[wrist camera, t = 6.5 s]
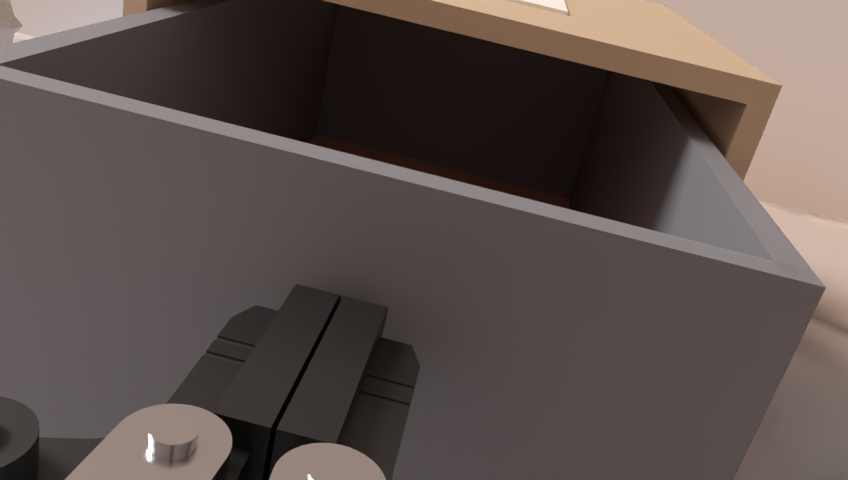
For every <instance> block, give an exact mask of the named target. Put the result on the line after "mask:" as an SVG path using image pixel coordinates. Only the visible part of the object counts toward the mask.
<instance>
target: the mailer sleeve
mask: <svg viewBox="0 0 848 480" xmlns="http://www.w3.org/2000/svg"><path fill="white" fill-rule="evenodd" d="M187 1H191V0H124V5H123V17H125V16H129V15H133V14H137V13H141V12H146V11H150V10H154V9H158V8H162V7H166V6H170V5H175V4H179V3H183V2H187ZM323 1H327V2H332V3H336V4H340V5H344V6H348V7H352V8H356V9H360V10H364V11H368V12H372V13H376V14H380V15H385V16H389V17H393V18H397V19H401V20H405V21H409V22H413V23H417V24H421V25H425V26H429V27H434V28H438V29H442V30H446V31H450V32H454V33H458V34H462V35H466V36H470V37H474V38H478V39H483V40H487V41H491V42H495V43H499V44H503V45H507V46H511V47H515V48H519V49H523V50H527V51H532V52H536V53H540V54H544V55H548V56H552V57H556V58H560V59H564V60H568V61H572V62H576V63H581V64H585V65H589V66H593V67H597V68H601V69H605V70H609V71H613V72H617V73H621V74H625V75H630V76H634V77H638V78H642V79H646V80H650V81H654V82H658V83H662V84H666V85H668V86H669V87H670V89H671V90H672V91H673V92H674V94H675V95H676V96H677V98H678V99H679V100H680V101H681V103H682V104H683V105H684V107H685V108H686V109H687V110H688V112H689V113H690V114H691V115H692V117H693V118H694V119H695V121H696V122H697V123H698V124H699V126H700V127H701V128H702V130H703V131H704V132H705V133H706V135H707V136H708V137H709V139H710V140H711V141H712V142H713V144H714V145H715V146H716V148H717V149H718V150H719V151H720V153H721V154H722V155H723V156H724V158H725V159H726V160H727V162H728V163H729V164H730V165H731V167H732V168H733V169H734V171H735V172H736V173H737V174H738V176H739V177H740V178H741V180H742V181H743V180H744V178H745V175H746V173H747V171H748V168H749V166H750V163H751V161H752V158H753V155H754V153H755V151H756V148H757V146H758V144H759V141H760V139H761V136H762V134H763V131H764V129H765V126H766V124H767V121H768V119H769V117H770V114H771V112H772V109H773V107H774V104H775V102H776V99H777V97H778V94H779V92H780V90H781V87H782V85H780V84H779V83H777V82H776V81H774V80H773V79H771V78H770V77H768V76H767V75H766V74H764V73H763V72H761V71H760V70H758V69H757V68H756V67H754V66H753V65H751V64H750V63H748V62H747V61H745V60H744V59H742V58H741V57H739V56H738V55H737V54H735V53H734V52H732V51H731V50H729V49H728V48H726V47H725V46H723V45H722V44H721V43H719V42H718V41H716V40H715V39H713V38H712V37H710V36H709V35H707V34H706V33H705V32H703V31H701V30H700V29H699V28H697V27H696V26H694V25H693V24H691V23H690V22H688V21H687V20H686V19H684V18H683V17H681V16H680V15H678V14H677V13H675V12H674V11H672V10H671V9H669V8H668V7H667V6H665V5H661V4H656V3H652V2H648V1H644V0H323Z"/></svg>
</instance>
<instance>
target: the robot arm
mask: <svg viewBox="0 0 848 480" xmlns="http://www.w3.org/2000/svg"><path fill="white" fill-rule="evenodd" d="M387 312H388V307H386V306H382V305H378V304H374V303H371V302H367V301H363V300H359V299H355V298H351V297H347V296H344V297H343V298H342V300H341V295H339V294H335V293H331V292H327V291H323V290H319V289H316V288H312V287H308V286H304V285H300V284H296V285H295V286H294V287H293V289H292V291H291V292H290V294H289V295H288V297H287V298H286V300H285V301H284V303H283V304H282V306H281V308H280V309H279V311H277V310H274V309H270V308H266V307H262V306H258V305H255V306H253V307H251V308H249V309H247V310H245V311H243V312H241V313H239V314H237V315H235V316H233V317H231V318H230V320H229V321H228V322H227V324H226V325H225V326H224V328H223V329H222V330H221V332H220V333H219V334H218V336H217V339H215V340H214V341H213V342H212V344H211V345H210V346H209V348H208V349H207V350H206V354H205V355H204V354H203V356H202V357H201V358H200V360H199V361H198V362H197V363H196V365H195V366H194V367H193V369H192V370H191V371H190V373H189V374H188V375H187V377H186V378H185V379H184V381H183V382H182V383H181V385H180V386H179V387H178V389H177V390H176V391H175V393H174V394H173V395H172V397H171V398H170V399H169V401H168V402H167V403H166V404H160V405H155V406H150V407H147V408H143V409H141V410H139V411H136V412H134V413H132V414H131V415H129V416H127V417H126V418H125V419H124V420H122V421H121V422H120V423H119V424H118V425H117V426H116V427H115V428H114V429H113V430H112V431H111V432H110V433H109V434H108V435H107V436H106V437H104V438H88V439H82V438H45V437H39V429H40V427H39V421H38V419H37V417H36V415H35V413H34V412H33V411H32V410H31V409H30V408H29V407H27V406H26V405H24V404H22V403H20V402H18V401H16V400H13V399H10V398H6V397H1V396H0V480H392V478H393V472H394V468H395V464H396V460H397V456H398V452H399V448H400V444H401V440H402V436H403V432H404V429H405V425H406V421H407V417H408V413H409V409H410V405H411V401H412V397H413V393H414V389H415V385H416V381H417V377H418V373H419V369H420V364H419V362H418V359H417V357H416V354H415V352H414V349H413V347H412V345H409V344H406V343H402V342H398V341H394V340H390V339H386V338H382V336H383V331H384V327H385V322H386V318H387Z"/></svg>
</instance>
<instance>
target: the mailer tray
mask: <svg viewBox="0 0 848 480" xmlns="http://www.w3.org/2000/svg"><path fill="white" fill-rule="evenodd" d="M296 284H300V285H304V286H308V287H312V288H316V289H319V290H323V291H327V292H331V293H335V294H339V295H341V300H342V298H343V297H344V296H347V297H351V298H355V299H359V300H363V301H367V302H371V303H374V304H378V305H382V306H386V307H388V312H387V318H386V322H385V327H384V331H383V336H382V338H386V339H390V340H394V341H398V342H402V343H406V344H409V345H412V347H413V349H414V352H415V354H416V357H417V359H418V362H419V364H420V369H419V373H418V377H417V381H416V385H415V389H414V393H413V397H412V401H411V405H410V409H409V413H408V417H407V421H406V425H405V429H404V432H403V436H402V440H401V444H400V448H399V452H398V456H397V460H396V464H395V468H394V472H393V478H392V480H733V478H734V476H735V474H736V472H737V470H738V468H739V466H740V464H741V462H742V460H743V458H744V456H745V454H746V451H747V449H748V447H749V445H750V443H751V441H752V439H753V437H754V435H755V433H756V431H757V429H758V427H759V425H760V422H761V420H762V418H763V416H764V414H765V412H766V410H767V408H768V406H769V404H770V402H771V400H772V398H773V396H774V393H775V391H776V389H777V387H778V385H779V383H780V381H781V379H782V377H783V375H784V373H785V371H786V369H787V367H788V364H789V362H790V360H791V358H792V356H793V354H794V352H795V350H796V348H797V346H798V344H799V342H800V340H801V338H802V335H803V333H804V331H805V329H806V327H807V325H808V323H809V321H810V319H811V317H812V315H813V313H814V311H815V309H816V306H817V304H818V302H819V300H820V298H821V296H822V294H823V292H824V290H825V288H826V287H825V286H824V285H823V283H822V282H821V281H820V279H819V278H818V277H817V276H816V274H815V273H814V272H813V271H812V269H811V268H810V267H809V265H808V264H807V263H806V262H805V260H804V259H803V258H802V256H801V255H800V254H799V253H798V251H797V250H796V249H795V247H794V246H793V245H792V244H791V242H790V241H789V240H788V238H787V237H786V236H785V235H784V233H783V232H782V231H781V230H780V228H779V227H778V226H777V224H776V223H775V222H774V221H773V219H772V218H771V217H770V215H769V214H768V213H767V212H766V210H765V209H764V208H763V206H762V205H761V204H760V203H759V201H758V200H757V199H756V197H754V195H753V194H752V192H751V191H750V190H749V189H748V187H747V186H746V185H745V183H744V182H743V181H742V180H741V178H740V177H739V176H738V174H737V173H736V172H735V171H734V169H733V168H732V167H731V165H730V164H729V163H728V162H727V160H726V159H725V158H724V156H723V155H722V154H721V153H720V151H719V150H718V149H717V148H716V146H715V145H714V144H713V142H712V141H711V140H710V139H709V137H708V136H707V135H706V133H705V132H704V131H703V130H702V128H701V127H700V126H699V124H698V123H697V122H696V121H695V119H694V118H693V117H692V115H691V114H690V113H689V112H688V110H687V109H686V108H685V107H684V105H683V104H682V103H681V101H680V100H679V99H678V98H677V96H676V95H675V94H674V92H673V91H672V90H671V89H670V87H669V86H668V85H666V84H662V83H658V82H654V81H650V80H646V79H642V78H638V77H634V76H630V75H625V74H621V73H617V72H613V71H609V70H605V69H601V68H597V67H593V66H589V65H585V64H581V63H576V62H572V61H568V60H564V59H560V58H556V57H552V56H548V55H544V54H540V53H536V52H532V51H527V50H523V49H519V48H515V47H511V46H507V45H503V44H499V43H495V42H491V41H487V40H483V39H478V38H474V37H470V36H466V35H462V34H458V33H454V32H450V31H446V30H442V29H438V28H434V27H429V26H425V25H421V24H417V23H413V22H409V21H405V20H401V19H397V18H393V17H389V16H385V15H380V14H376V13H372V12H368V11H364V10H360V9H356V8H352V7H348V6H344V5H340V4H336V3H332V2H327V1H323V0H191V1H187V2H183V3H179V4H175V5H170V6H166V7H162V8H158V9H154V10H150V11H146V12H141V13H137V14H133V15H129V16H125V17H121V18H116V19H112V20H108V21H104V22H100V23H96V24H92V25H87V26H83V27H79V28H75V29H71V30H67V31H63V32H59V33H54V34H50V35H46V36H42V37H37V38H33V39H29V40H25V41H21V42H17V43H13V44H8V45H4V46H0V396H1V397H6V398H10V399H13V400H16V401H18V402H20V403H22V404H24V405H26V406H27V407H29V408H30V409H31V410H32V411H33V412H34V413H35V415H36V417H37V419H38V421H39V427H40V429H39V437H45V438H82V439H88V438H104V437H106V436H107V435H108V434H109V433H110V432H111V431H112V430H113V429H114V428H115V427H116V426H117V425H118V424H119V423H120V422H121V421H122V420H124V419H125V418H126V417H127V416H129V415H131V414H132V413H134V412H136V411H139V410H141V409H143V408H147V407H150V406H155V405H160V404H166V403H167V402H168V401H169V399H170V398H171V397H172V395H173V394H174V393H175V391H176V390H177V389H178V387H179V386H180V385H181V383H182V382H183V381H184V379H185V378H186V377H187V375H188V374H189V373H190V371H191V370H192V369H193V367H194V366H195V365H196V363H197V362H198V361H199V360H200V358H201V357H202V356H203V354H204V355H205V354H206V350H207V349H208V348H209V346H210V345H211V344H212V342H213V341H214V340H215V339H217V336H218V334H219V333H220V332H221V330H222V329H223V328H224V326H225V325H226V324H227V322H228V321H229V320H230V318H231V317H233V316H235V315H237V314H239V313H241V312H243V311H245V310H247V309H249V308H251V307H253V306H255V305H258V306H262V307H266V308H270V309H274V310H277V311H279V309H280V308H281V306H282V304H283V303H284V301H285V300H286V298H287V297H288V295H289V294H290V292H291V291H292V289H293V287H294V286H295V285H296Z"/></svg>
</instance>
